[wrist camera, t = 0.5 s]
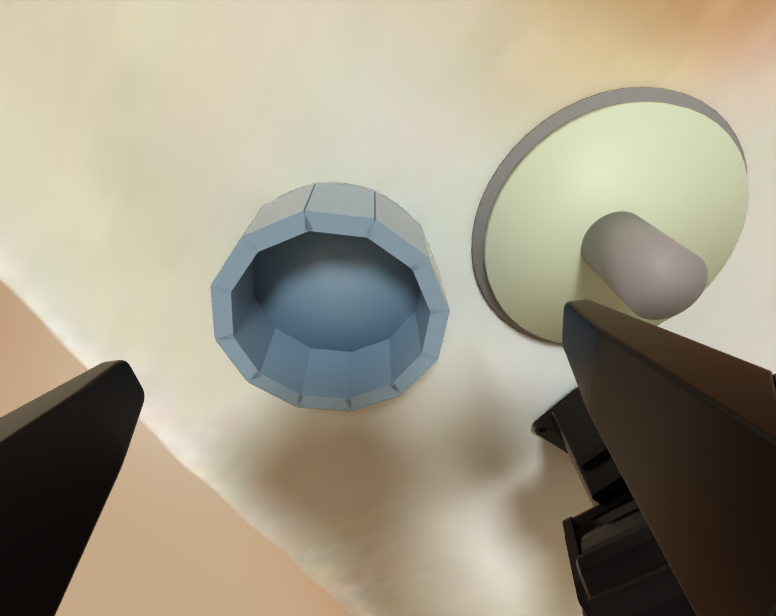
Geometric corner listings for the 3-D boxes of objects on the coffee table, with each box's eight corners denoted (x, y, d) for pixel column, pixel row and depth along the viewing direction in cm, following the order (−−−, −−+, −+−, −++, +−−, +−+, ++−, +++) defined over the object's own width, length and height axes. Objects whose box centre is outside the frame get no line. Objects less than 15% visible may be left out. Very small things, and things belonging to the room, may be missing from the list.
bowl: (473, 260, 23) (493, 304, 19) (359, 381, 27) (357, 438, 23) (308, 135, 19) (291, 158, 16) (205, 295, 23) (172, 344, 20)
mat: (795, 208, 21) (800, 210, 21) (584, 376, 27) (586, 379, 26) (632, 11, 17) (636, 11, 17) (418, 256, 22) (418, 259, 22)
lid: (784, 212, 21) (896, 259, 17) (587, 370, 26) (632, 439, 21) (633, 32, 17) (725, 29, 13) (432, 257, 22) (447, 314, 17)
